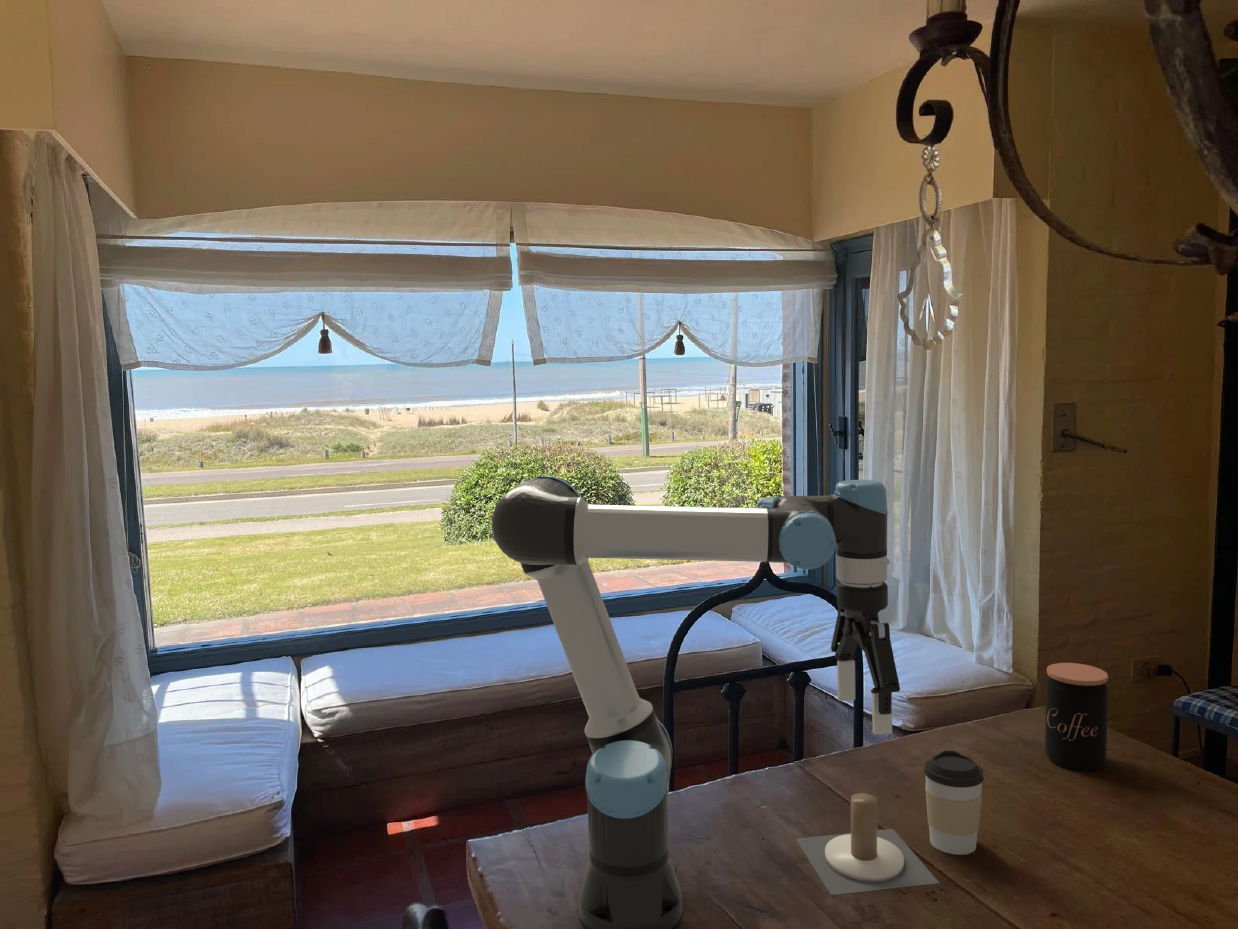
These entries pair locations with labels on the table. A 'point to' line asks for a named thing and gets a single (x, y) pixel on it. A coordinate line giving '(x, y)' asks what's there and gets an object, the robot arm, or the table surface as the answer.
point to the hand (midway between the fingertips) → (863, 715)
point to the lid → (864, 846)
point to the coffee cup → (953, 801)
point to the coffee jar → (1076, 716)
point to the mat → (840, 884)
